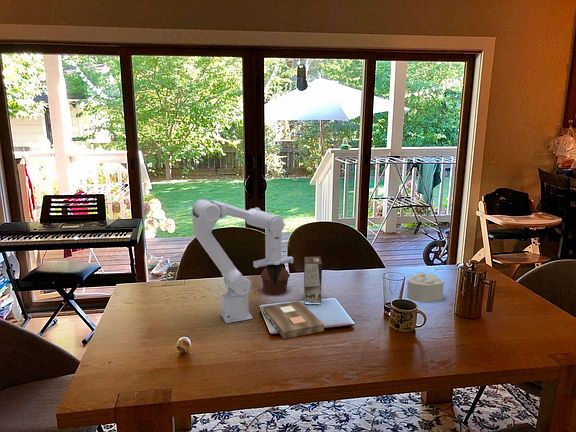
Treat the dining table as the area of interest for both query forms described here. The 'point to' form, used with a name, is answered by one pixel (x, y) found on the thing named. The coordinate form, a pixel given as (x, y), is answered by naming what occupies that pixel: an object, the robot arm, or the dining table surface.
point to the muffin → (280, 285)
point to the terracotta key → (297, 320)
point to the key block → (283, 321)
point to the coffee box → (312, 279)
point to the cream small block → (287, 309)
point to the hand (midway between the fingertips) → (273, 283)
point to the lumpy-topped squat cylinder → (425, 288)
